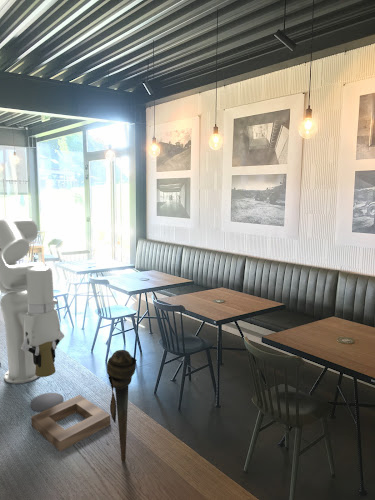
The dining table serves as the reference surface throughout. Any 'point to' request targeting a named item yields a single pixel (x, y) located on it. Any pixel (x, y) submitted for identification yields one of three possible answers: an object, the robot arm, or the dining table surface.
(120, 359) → the decorative torch
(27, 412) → the dining table surface
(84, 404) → the square frame
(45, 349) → the cork
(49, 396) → the coaster
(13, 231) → the robot arm
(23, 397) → the dining table surface
